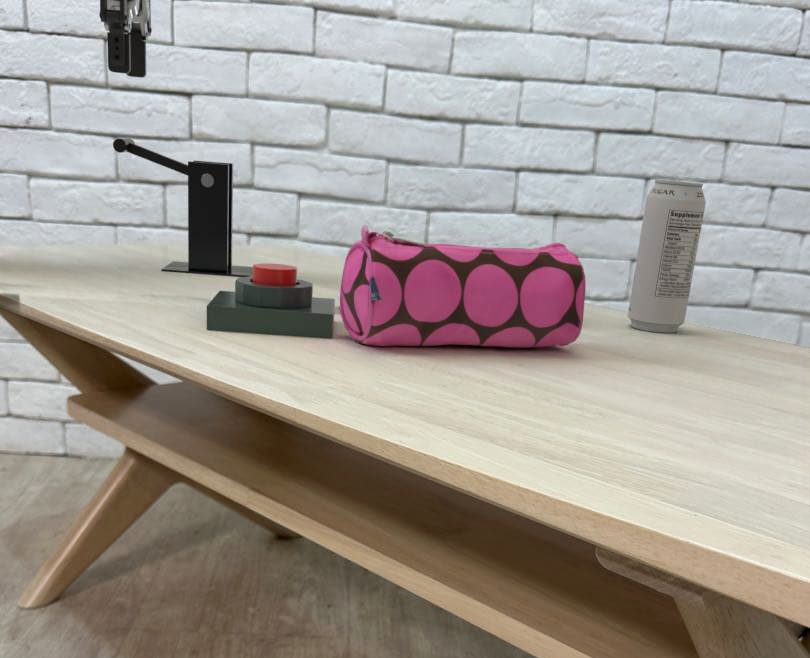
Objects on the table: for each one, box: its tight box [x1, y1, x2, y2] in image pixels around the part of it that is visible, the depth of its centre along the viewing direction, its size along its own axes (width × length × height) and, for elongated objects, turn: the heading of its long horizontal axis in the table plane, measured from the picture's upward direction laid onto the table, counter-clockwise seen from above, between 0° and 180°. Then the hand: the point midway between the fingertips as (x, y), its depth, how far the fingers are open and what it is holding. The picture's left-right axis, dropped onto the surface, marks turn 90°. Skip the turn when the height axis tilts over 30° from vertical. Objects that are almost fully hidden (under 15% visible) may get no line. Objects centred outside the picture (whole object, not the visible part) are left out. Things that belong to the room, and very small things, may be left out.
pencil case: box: [339, 224, 587, 348], centre depth 88 cm, size 21×10×10 cm, turn 111°
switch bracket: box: [161, 160, 253, 278], centre depth 115 cm, size 10×8×13 cm
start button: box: [252, 263, 298, 286], centre depth 90 cm, size 4×4×2 cm
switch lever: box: [112, 137, 188, 177], centre depth 112 cm, size 12×5×2 cm, turn 93°
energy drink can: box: [627, 179, 707, 334], centre depth 105 cm, size 6×6×15 cm
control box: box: [206, 276, 336, 340], centre depth 91 cm, size 11×9×4 cm
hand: (128, 74), depth 108 cm, fingers open, 8 cm apart
